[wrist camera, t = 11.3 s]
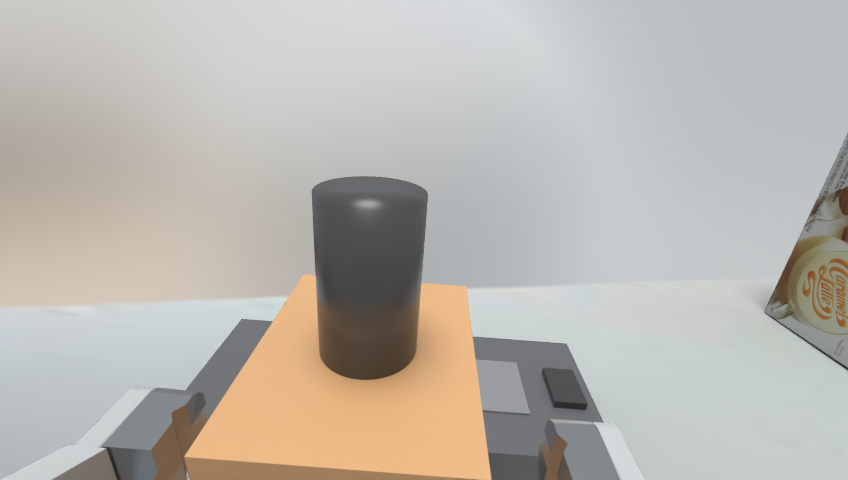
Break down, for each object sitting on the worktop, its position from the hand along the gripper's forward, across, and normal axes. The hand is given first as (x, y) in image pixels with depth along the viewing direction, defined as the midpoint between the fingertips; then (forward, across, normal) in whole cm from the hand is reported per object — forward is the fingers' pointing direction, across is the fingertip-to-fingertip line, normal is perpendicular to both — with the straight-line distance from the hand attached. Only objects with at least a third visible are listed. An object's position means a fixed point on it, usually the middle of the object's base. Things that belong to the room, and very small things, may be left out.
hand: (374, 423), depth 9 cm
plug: (-1, 0, +9) cm, 9 cm away
